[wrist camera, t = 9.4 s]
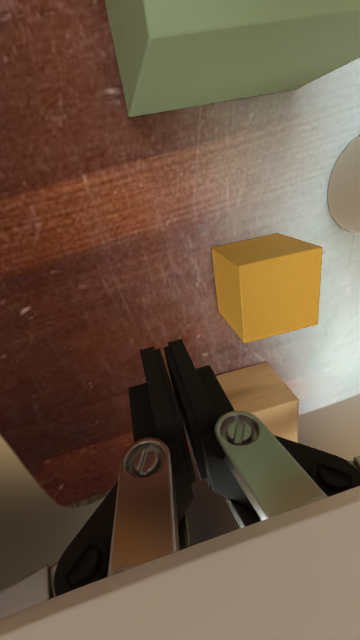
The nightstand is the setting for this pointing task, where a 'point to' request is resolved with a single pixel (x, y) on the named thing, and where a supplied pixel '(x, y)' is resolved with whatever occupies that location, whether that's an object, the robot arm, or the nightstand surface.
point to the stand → (226, 48)
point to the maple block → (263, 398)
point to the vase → (346, 188)
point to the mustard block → (268, 285)
